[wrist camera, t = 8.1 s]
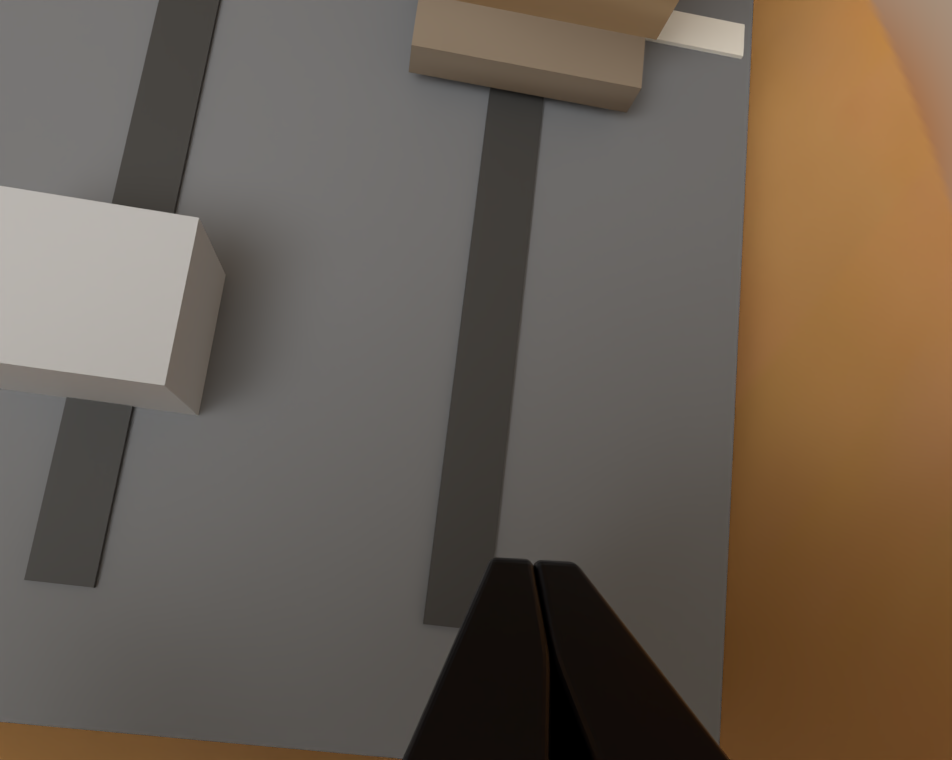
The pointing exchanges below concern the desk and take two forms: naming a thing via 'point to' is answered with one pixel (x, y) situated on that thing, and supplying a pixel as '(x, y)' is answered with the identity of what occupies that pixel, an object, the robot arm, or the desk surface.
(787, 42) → the desk surface
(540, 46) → the block
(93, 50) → the console
